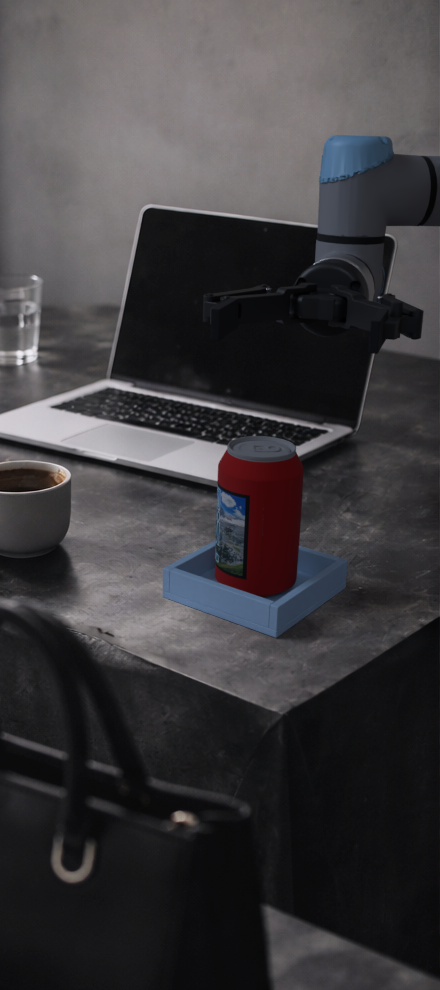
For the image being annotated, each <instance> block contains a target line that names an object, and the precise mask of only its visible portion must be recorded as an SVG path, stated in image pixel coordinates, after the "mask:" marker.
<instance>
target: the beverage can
mask: <svg viewBox="0 0 440 990" xmlns="http://www.w3.org/2000/svg"><path fill="white" fill-rule="evenodd" d="M304 470H305V469H304V465H303V463H302V460H301V459H300V457H299V455H298V453H297V447H296V445H295V444H294V443H293V442H291V441H289V440H286V439H284V438H279V437H275V436H267V435H266V436H265V435H251V436H250V435H248V436H241V437H237V438H233V439H232V440H230V441H229V442H228V443H227V448H226V450H225V452H224V453H223V455H222V457H221V458H220V460H219V462H218V465H217V481H216V482H217V483H216V487H217V488H216V508H215V509H216V510H215V511H216V512H215V517H216V518H215V540H216V542H215V578H216V580H217V582H218V583H221V584H224V585H227V586H230V587H233V588H236V589H239V590H242V591H245V592H248V593H251V594H253V595H256V596H259V597H262V598H269V597H273V596H276V595H278V594H280V593H282V592H284V591H286V590H288V589H290V588H291V587H292V586H293V585H294V584H295V582H296V579H297V566H298V554H299V546H300V536H301V526H302V525H301V523H302V508H303V489H304V472H305V471H304Z"/></svg>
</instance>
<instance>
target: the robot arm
mask: <svg viewBox="0 0 440 990" xmlns="http://www.w3.org/2000/svg"><path fill="white" fill-rule="evenodd" d="M393 144H394V143H393V141H392V138H390V137H389V136H384V135H380V136H379V135H352V134H351V135H349V134H334V135H331V136H330V137H328V138H327V139H326V141H325V142H324V145H323V149H322V155H321V160H320V161H321V162H320V171H319V175H318V176H319V177H318V189H319V190H318V209H317V210H318V211H317V213H318V214H317V234H316V240H315V242H316V243H315V254H314V255H315V257H314V263H313V264H312V265H310V266H308V267H307V268H306V269H305V270H303V271H302V272H301V274H300V275H299V276H298V277H297V279H296V280H295V282H294V284H293V285H292V286H281V287H278V288H277V289H276V291H275V292H272V288H271V287H270V286H269V285H267V284H264V283H263V284H261V285H256V286H253V287H250V288H242V289H235V290H229V291H222V292H221V291H220V292H213V293H210V292H209V293H205V294H203V297H202V298H203V300H202V301H203V302H202V305H203V306H202V322H203V323H206V324H209V325H210V341H215V342H216V341H217V342H219V341H221V340H223V339H224V338H226V337H227V336H229V335H230V334H231V333H233V332H234V331H236V330H237V329H238V327H239V325H244V324H252V323H253V324H255V323H263V322H264V323H265V322H274V321H276V322H277V323H279V324H282V325H296V324H297V325H298V324H300V325H301V326H302V328H304V329H305V330H306V331H308V332H309V333H311V334H313V335H315V336H318V337H324V338H333V337H339V336H342V335H344V334H346V333H348V332H349V331H351V330H358V329H361V330H364V331H367V332H369V341H368V350H367V351H368V352H367V354H373V355H378V354H379V352H380V351H381V349H382V347H383V346H384V344H385V342H386V341H387V340H391V341H395V340H397V339H401V335H402V336H403V337H406V338H407V339H411V340H412V341H413V340H414V341H415V340H416V341H417V340H420V339H422V331H423V323H424V310H423V309H421V308H419V307H416V306H414V305H412V304H410V303H407V302H406V301H403V300H401V299H398V298H396V294H392V293H390V292H389V293H388V292H386V293H385V294H383V291H384V286H385V278H386V277H385V276H386V274H385V273H386V272H385V268H384V264H383V261H384V252H385V251H384V249H385V242H386V231H387V227H440V155H417V154H416V155H415V154H400V153H395V152H394V145H393ZM381 294H382V295H381ZM290 315H291V316H290Z"/></svg>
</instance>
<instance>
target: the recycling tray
mask: <svg viewBox="0 0 440 990" xmlns="http://www.w3.org/2000/svg"><path fill="white" fill-rule="evenodd" d="M215 542H216V539H214V540H213V541H211V542H209V543H208V544H206V545H204V546H202V547H199V548H198V549H197V550H194V551H192V552H191V553H189V554H187V555H185V556H183V557H182V558H180V559H177V560H176V561H174V562H172V563H170V564H168V565H166V566H164V567H163V568H162V598H164V599H167V600H170V601H172V602H176V603H178V604H181V605H184V606H187V607H188V608H189V607H190V608H192V609H195V610H197V611H200V612H203V613H206V614H208V615H212V616H214V617H216V618H219V619H223V620H225V621H228V622H231V623H233V624H236V625H239V626H241V627H244V628H247V629H250V630H253V631H256V632H258V633H261V634H263V635H266V636H269V637H272V638H274V639H277V638H278V637H280V636H281V635H283V634H284V633H285V632H286V631H288V630H290V629H291V628H292V627H294V626H295V625H296V624H298V623H299V622H301V621H302V620H303V619H305V618H306V617H308V616H309V615H310V614H312V613H313V612H314V611H316V610H317V609H319V608H320V607H321V606H322V605H324V604H326V603H327V602H329V601H330V600H332V598H334V597H335V596H336V595H338V594H339V593H341V592H342V591H344V590H345V589H346V588H347V575H348V564H349V560H348V559H347V558H342V557H340V556H335V555H332V554H329V553H326V552H321V551H319V550H315V549H312V548H309V547H305V546H304V545H303V546H302V545H299V554H298V566H297V579H296V582H295V584H294V585H293V586H292V587H291V588H290V589H288V590H286V591H284V592H282V593H280V594H278V595H276V596H273V597H269V598H262V597H259V596H256V595H253V594H251V593H248V592H245V591H242V590H239V589H236V588H233V587H230V586H227V585H224V584H221V583H218V582H217V580H216V578H215Z"/></svg>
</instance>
